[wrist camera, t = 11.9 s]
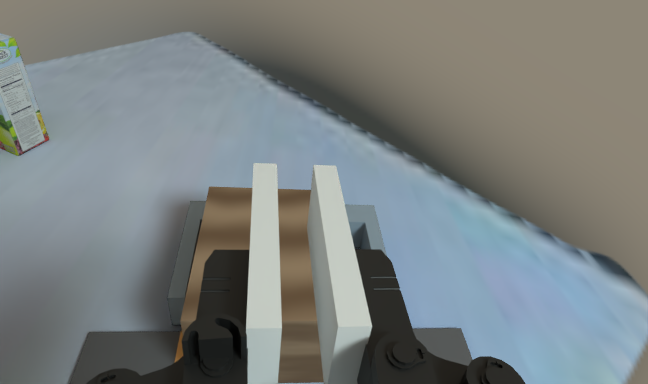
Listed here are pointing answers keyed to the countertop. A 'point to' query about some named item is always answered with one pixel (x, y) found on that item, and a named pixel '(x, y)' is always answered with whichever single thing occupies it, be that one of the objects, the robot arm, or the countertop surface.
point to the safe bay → (358, 217)
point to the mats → (166, 348)
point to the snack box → (17, 103)
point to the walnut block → (295, 271)
